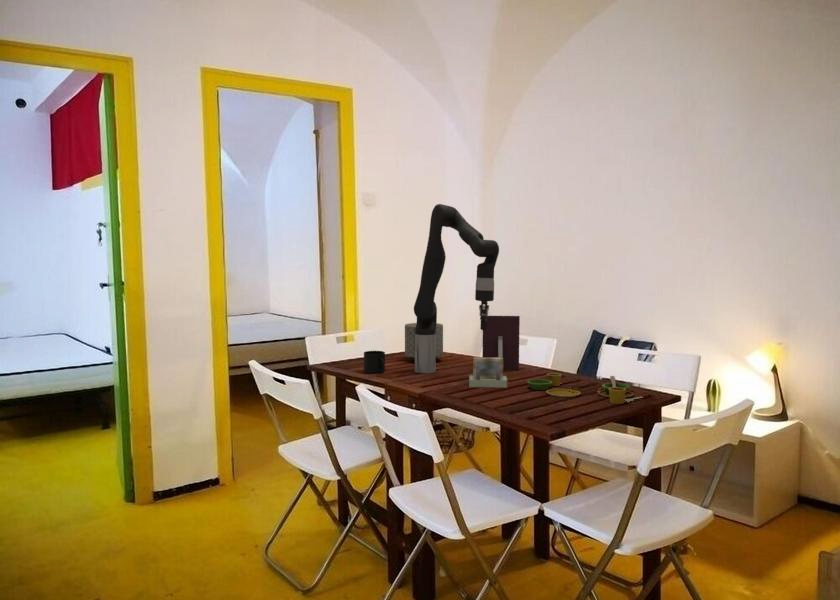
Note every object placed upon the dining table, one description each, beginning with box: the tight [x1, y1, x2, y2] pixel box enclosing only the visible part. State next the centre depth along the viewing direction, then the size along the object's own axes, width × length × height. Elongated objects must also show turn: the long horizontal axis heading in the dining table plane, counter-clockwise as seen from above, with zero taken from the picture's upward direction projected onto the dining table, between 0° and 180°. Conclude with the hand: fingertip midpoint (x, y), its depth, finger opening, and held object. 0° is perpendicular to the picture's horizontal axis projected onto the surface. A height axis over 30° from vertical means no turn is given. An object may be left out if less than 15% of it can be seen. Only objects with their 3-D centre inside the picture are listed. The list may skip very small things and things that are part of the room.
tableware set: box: [526, 372, 643, 405], centre depth 243 cm, size 41×28×6 cm
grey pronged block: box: [468, 369, 508, 389], centre depth 258 cm, size 15×9×7 cm, turn 85°
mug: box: [363, 350, 386, 375], centre depth 286 cm, size 9×12×9 cm
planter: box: [404, 322, 444, 362], centre depth 317 cm, size 19×19×18 cm
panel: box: [472, 356, 504, 379], centre depth 258 cm, size 12×4×8 cm, turn 85°
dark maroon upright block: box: [481, 315, 521, 371], centre depth 288 cm, size 17×10×25 cm, turn 84°
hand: (483, 328), depth 261 cm, fingers open, 8 cm apart
